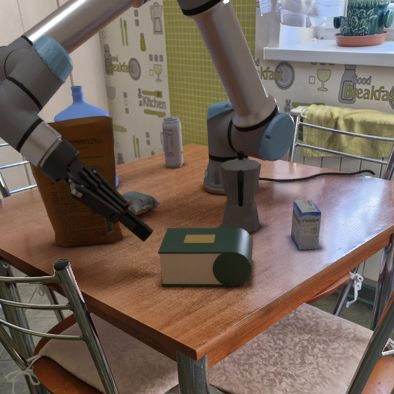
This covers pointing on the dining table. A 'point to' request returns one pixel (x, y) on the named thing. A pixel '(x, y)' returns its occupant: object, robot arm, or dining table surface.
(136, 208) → the packaged food
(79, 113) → the water jug
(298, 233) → the medicine box
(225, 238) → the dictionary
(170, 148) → the energy drink can
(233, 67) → the robot arm
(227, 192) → the coffeepot
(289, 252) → the dining table surface
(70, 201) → the pancake mix bag
